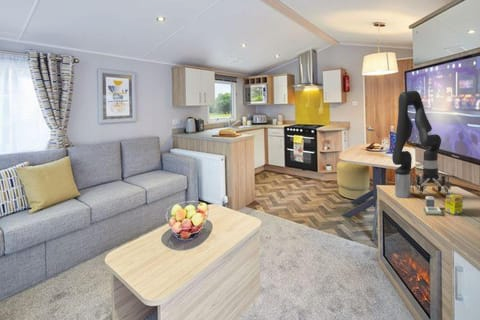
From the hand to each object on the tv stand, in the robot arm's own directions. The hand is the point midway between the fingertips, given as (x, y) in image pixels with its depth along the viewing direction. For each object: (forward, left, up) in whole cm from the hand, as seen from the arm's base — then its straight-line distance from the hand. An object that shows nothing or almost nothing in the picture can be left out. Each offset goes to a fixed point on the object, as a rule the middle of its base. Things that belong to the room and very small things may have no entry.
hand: (430, 191), depth 168 cm
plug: (0, 0, -11) cm, 11 cm away
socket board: (+7, 0, -11) cm, 13 cm away
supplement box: (+5, +11, -12) cm, 17 cm away
